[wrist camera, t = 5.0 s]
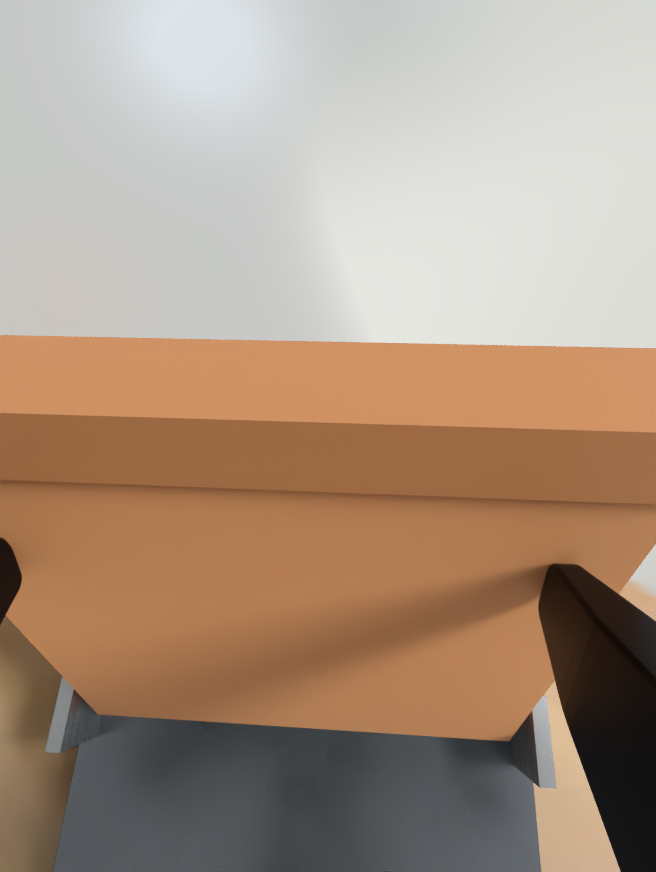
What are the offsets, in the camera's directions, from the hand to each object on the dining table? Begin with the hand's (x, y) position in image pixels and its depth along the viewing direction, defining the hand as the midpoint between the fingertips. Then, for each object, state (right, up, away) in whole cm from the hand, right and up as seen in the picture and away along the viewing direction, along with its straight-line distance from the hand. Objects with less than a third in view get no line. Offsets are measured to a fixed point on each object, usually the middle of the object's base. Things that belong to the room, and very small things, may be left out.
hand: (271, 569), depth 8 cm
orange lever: (0, -6, +6) cm, 9 cm away
